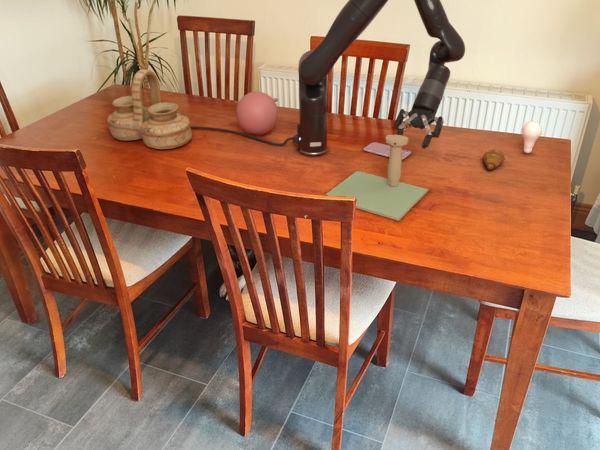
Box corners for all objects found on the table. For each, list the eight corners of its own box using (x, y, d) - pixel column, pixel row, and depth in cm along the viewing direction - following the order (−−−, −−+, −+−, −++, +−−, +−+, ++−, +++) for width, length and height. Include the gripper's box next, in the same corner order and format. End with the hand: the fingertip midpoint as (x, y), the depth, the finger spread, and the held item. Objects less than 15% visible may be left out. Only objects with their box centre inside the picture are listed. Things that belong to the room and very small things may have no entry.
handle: (384, 179, 167) (388, 133, 160) (405, 183, 165) (409, 136, 158) (380, 186, 164) (383, 139, 156) (402, 190, 162) (406, 142, 154)
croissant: (500, 173, 171) (503, 159, 169) (478, 170, 174) (480, 155, 171) (506, 157, 182) (509, 143, 179) (485, 153, 184) (488, 140, 181)
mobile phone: (373, 140, 193) (412, 150, 185) (373, 143, 193) (412, 153, 185) (362, 148, 187) (401, 158, 180) (362, 150, 188) (401, 161, 180)
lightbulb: (536, 150, 186) (543, 119, 180) (536, 157, 181) (544, 126, 175) (517, 148, 187) (523, 117, 182) (517, 155, 182) (523, 124, 177)
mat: (323, 198, 160) (323, 195, 160) (357, 172, 174) (357, 170, 174) (398, 221, 148) (398, 218, 148) (428, 191, 162) (428, 189, 162)
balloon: (295, 127, 208) (294, 87, 200) (260, 144, 194) (257, 102, 186) (264, 119, 216) (262, 80, 208) (229, 135, 203) (225, 94, 195)
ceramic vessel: (98, 138, 202) (83, 71, 189) (134, 122, 216) (122, 58, 203) (169, 156, 187) (158, 84, 174) (203, 137, 201) (195, 69, 188)
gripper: (404, 87, 169) (385, 134, 167) (449, 95, 162) (429, 144, 160) (410, 99, 176) (392, 145, 174) (453, 107, 169) (434, 154, 167)
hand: (410, 144), depth 167 cm, fingers open, 8 cm apart
